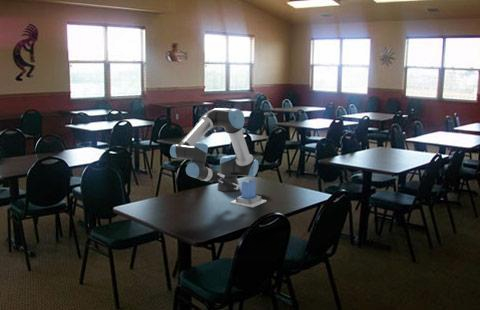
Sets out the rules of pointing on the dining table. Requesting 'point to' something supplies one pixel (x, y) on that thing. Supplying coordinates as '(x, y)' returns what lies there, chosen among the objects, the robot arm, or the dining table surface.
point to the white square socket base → (248, 201)
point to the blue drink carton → (248, 189)
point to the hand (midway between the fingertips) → (230, 182)
